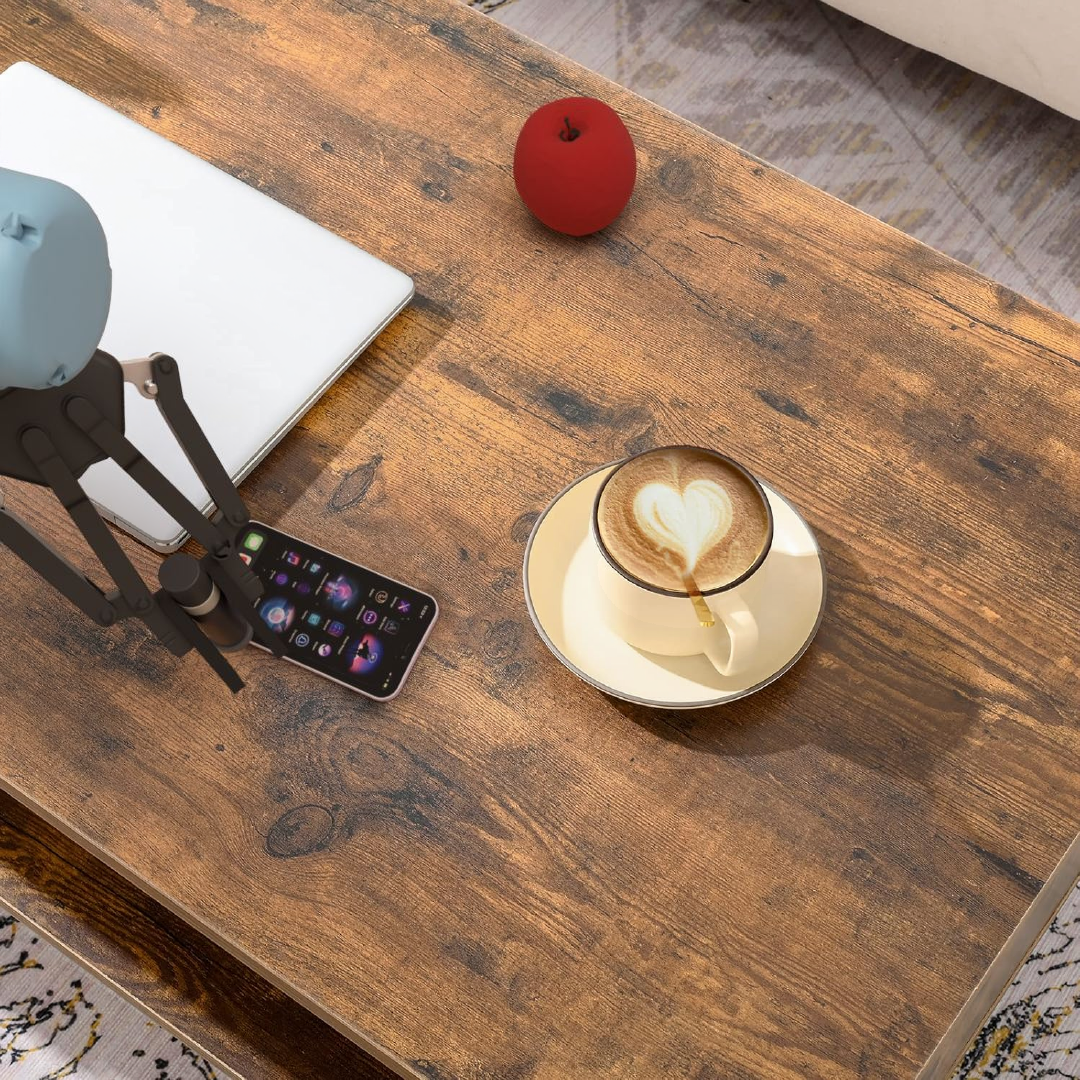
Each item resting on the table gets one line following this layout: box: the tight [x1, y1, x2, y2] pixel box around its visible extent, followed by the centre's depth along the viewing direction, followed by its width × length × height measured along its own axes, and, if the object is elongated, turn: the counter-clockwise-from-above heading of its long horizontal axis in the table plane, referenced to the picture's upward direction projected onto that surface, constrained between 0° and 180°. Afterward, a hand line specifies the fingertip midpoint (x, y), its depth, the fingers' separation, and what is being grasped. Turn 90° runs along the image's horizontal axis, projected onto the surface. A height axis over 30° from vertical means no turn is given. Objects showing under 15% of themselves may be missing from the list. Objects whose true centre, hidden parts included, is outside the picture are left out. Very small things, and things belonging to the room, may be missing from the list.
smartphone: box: [219, 519, 440, 703], centre depth 75 cm, size 8×1×15 cm
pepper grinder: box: [157, 552, 253, 654], centre depth 65 cm, size 3×3×10 cm
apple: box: [512, 96, 637, 237], centre depth 83 cm, size 9×9×10 cm
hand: (256, 664), depth 65 cm, fingers closed on pepper grinder, 2 cm apart
